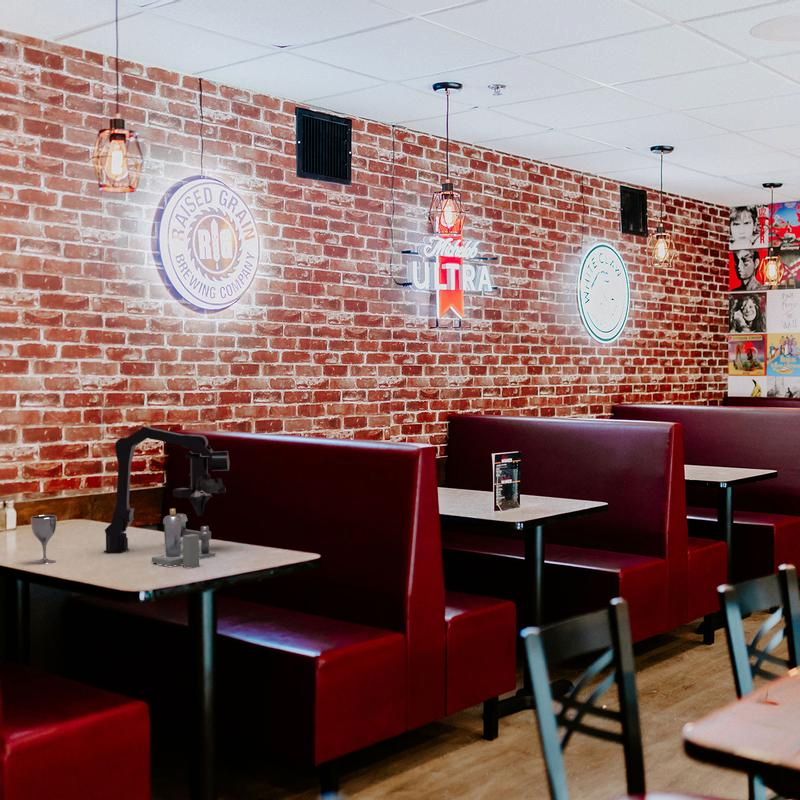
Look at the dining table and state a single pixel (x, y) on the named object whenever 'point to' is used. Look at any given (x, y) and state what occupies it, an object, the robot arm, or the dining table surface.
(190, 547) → the press
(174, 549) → the grey bottle
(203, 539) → the lever
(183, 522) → the food container
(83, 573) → the dining table surface
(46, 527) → the wine glass
